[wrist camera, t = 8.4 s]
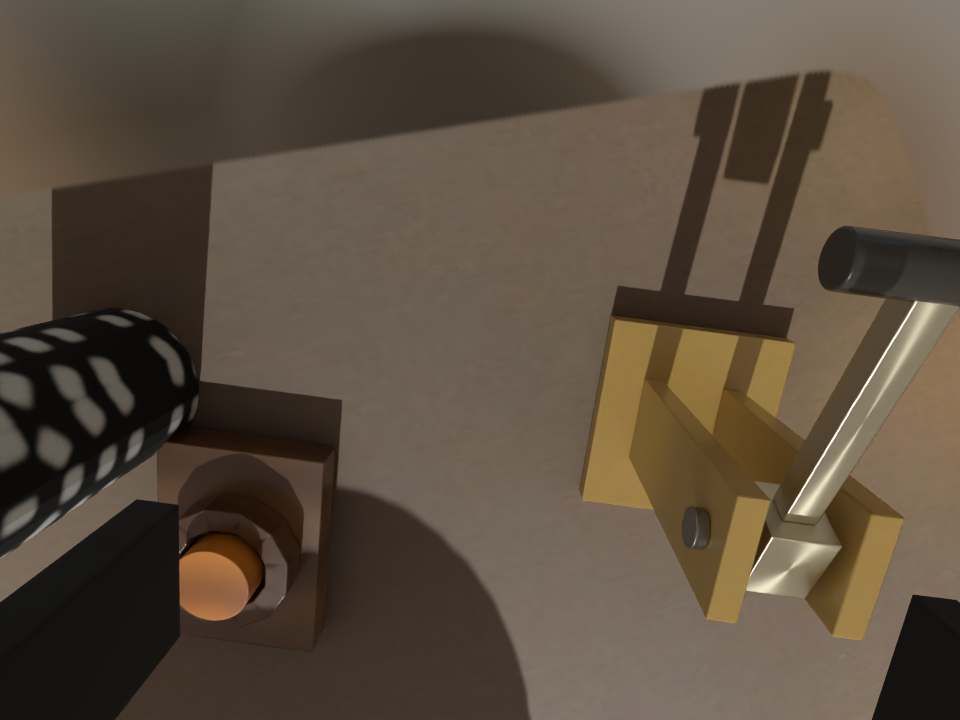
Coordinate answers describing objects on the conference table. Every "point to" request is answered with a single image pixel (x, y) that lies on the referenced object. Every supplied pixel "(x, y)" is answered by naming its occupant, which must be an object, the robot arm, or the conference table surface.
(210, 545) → the button
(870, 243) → the switch lever
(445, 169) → the conference table surface
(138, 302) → the conference table surface
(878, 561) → the switch bracket
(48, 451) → the spotted tube
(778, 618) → the conference table surface
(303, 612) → the button block
